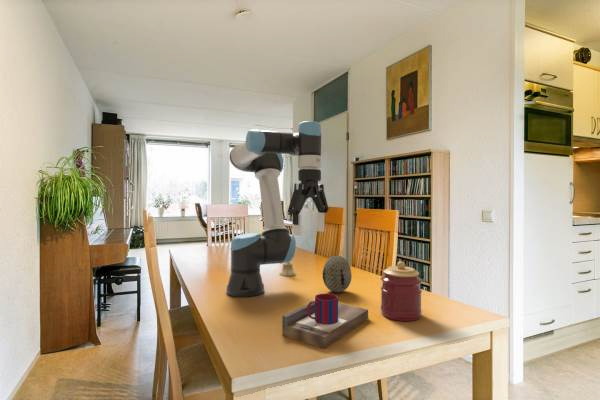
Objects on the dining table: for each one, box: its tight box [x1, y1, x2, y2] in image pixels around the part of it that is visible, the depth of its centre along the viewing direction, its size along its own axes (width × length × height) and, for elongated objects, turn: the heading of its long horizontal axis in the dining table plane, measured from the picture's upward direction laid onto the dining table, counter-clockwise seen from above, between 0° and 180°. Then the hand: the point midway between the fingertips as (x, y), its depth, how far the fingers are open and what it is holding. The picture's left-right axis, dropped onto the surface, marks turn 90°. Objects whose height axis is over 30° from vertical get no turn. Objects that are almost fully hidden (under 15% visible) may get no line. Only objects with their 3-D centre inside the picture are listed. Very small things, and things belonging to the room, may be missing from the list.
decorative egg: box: [322, 254, 352, 293], centre depth 137 cm, size 12×12×15 cm
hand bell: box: [279, 261, 297, 277], centre depth 168 cm, size 8×8×16 cm
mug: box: [307, 293, 339, 324], centre depth 97 cm, size 7×10×7 cm
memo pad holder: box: [281, 302, 369, 349], centre depth 101 cm, size 14×26×6 cm, turn 144°
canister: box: [380, 260, 423, 322], centre depth 111 cm, size 13×13×18 cm
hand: (309, 233), depth 112 cm, fingers open, 13 cm apart
